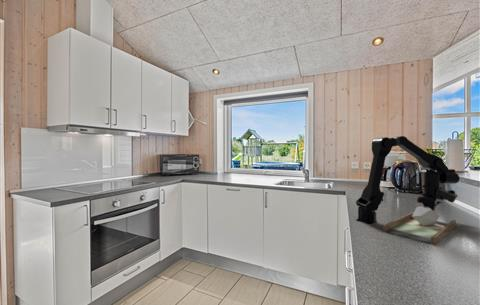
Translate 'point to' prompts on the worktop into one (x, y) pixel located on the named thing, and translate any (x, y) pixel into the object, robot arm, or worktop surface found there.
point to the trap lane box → (418, 229)
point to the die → (425, 216)
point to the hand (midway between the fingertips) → (431, 216)
